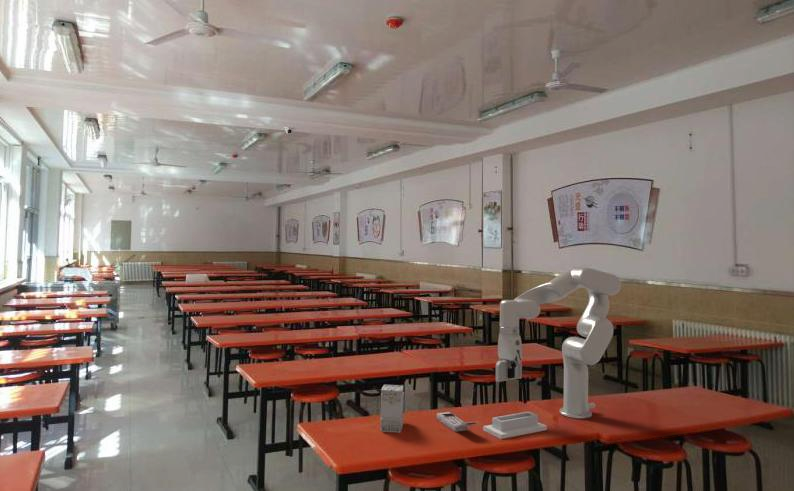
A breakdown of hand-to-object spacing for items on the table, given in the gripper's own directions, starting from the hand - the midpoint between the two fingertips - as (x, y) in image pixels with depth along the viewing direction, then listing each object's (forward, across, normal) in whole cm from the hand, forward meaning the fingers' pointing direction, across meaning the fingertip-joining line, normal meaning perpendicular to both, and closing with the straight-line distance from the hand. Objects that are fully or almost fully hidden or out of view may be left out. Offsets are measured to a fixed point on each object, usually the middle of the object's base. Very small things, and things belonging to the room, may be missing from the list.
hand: (509, 377), depth 201 cm
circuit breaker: (+16, +13, +46) cm, 50 cm away
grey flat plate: (+1, 0, 0) cm, 1 cm away
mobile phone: (+17, +2, +25) cm, 30 cm away
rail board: (+17, -11, +6) cm, 21 cm away
